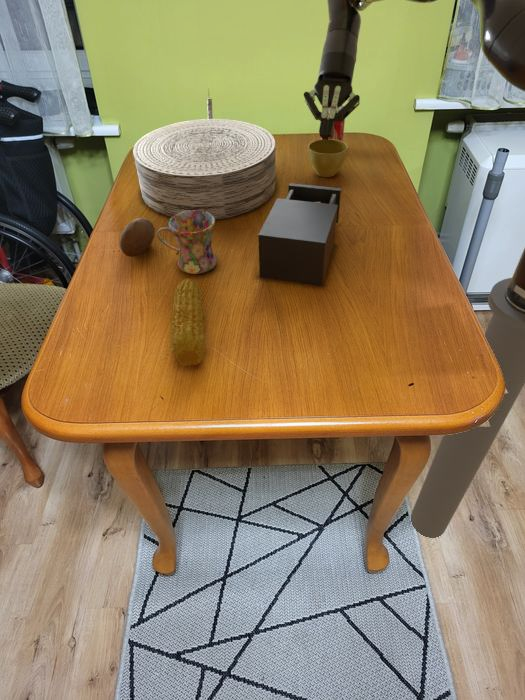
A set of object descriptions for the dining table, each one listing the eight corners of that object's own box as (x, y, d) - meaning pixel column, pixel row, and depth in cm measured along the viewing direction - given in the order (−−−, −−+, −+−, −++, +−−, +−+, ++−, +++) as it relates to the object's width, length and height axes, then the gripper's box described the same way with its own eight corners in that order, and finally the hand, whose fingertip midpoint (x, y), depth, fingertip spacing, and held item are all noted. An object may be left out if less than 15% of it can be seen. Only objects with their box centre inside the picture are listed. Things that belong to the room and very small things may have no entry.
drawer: (293, 206, 114) (293, 174, 109) (341, 211, 112) (344, 179, 106) (274, 246, 102) (274, 212, 96) (328, 253, 100) (331, 219, 94)
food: (209, 369, 78) (205, 343, 74) (174, 374, 78) (168, 347, 73) (201, 291, 93) (197, 265, 89) (172, 294, 92) (167, 268, 88)
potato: (162, 236, 108) (157, 207, 103) (149, 266, 99) (143, 236, 94) (133, 235, 108) (126, 207, 103) (117, 265, 100) (109, 235, 95)
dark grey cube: (277, 238, 106) (277, 198, 99) (334, 246, 103) (338, 204, 96) (259, 277, 96) (258, 234, 89) (322, 286, 93) (325, 243, 86)
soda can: (342, 155, 136) (346, 110, 128) (320, 155, 137) (323, 110, 128) (341, 146, 141) (345, 102, 132) (319, 146, 141) (322, 102, 133)
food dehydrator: (273, 220, 111) (273, 143, 99) (127, 220, 113) (109, 144, 101) (277, 153, 138) (276, 85, 126) (159, 153, 140) (147, 87, 128)
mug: (220, 252, 102) (215, 208, 95) (218, 277, 96) (213, 232, 89) (166, 254, 102) (158, 210, 95) (161, 279, 96) (151, 234, 89)
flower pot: (309, 164, 133) (310, 137, 128) (346, 166, 131) (349, 139, 126) (304, 180, 126) (305, 152, 121) (343, 182, 124) (346, 155, 119)
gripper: (306, 48, 104) (293, 127, 104) (368, 50, 101) (354, 132, 101) (310, 69, 111) (297, 143, 111) (368, 71, 108) (355, 148, 109)
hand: (324, 138), depth 106 cm, fingers closed
